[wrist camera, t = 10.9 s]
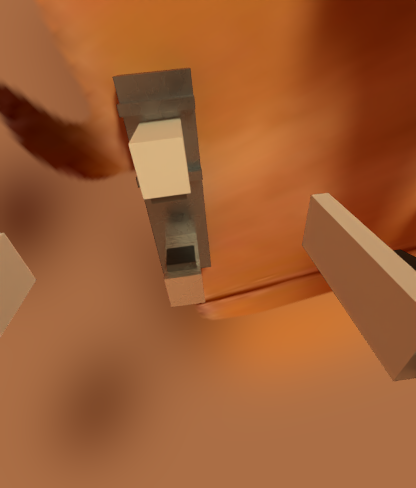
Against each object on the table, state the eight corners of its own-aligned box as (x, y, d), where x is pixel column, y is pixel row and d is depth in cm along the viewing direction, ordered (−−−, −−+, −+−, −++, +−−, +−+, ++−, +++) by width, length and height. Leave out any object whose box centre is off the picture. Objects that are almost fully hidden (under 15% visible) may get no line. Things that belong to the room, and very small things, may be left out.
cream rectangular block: (139, 122, 25) (128, 143, 19) (180, 117, 25) (182, 136, 19) (152, 175, 28) (146, 209, 22) (188, 170, 28) (192, 203, 22)
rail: (117, 75, 25) (88, 83, 16) (189, 67, 25) (197, 72, 16) (163, 262, 39) (161, 318, 30) (209, 256, 39) (218, 309, 31)
